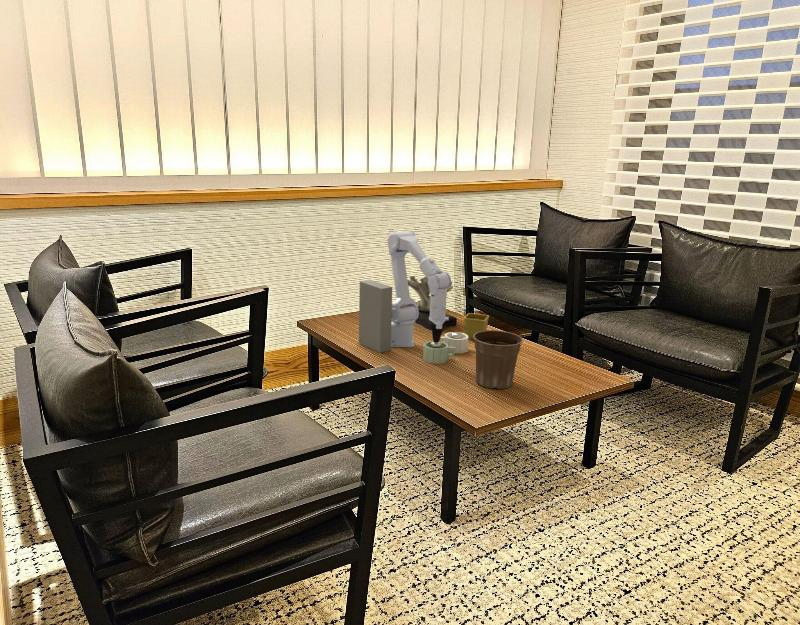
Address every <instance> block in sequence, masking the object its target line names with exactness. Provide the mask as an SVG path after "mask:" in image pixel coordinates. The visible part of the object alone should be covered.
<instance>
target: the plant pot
mask: <svg viewBox="0 0 800 625" xmlns="http://www.w3.org/2000/svg"><path fill="white" fill-rule="evenodd" d="M473 338H474V339H473V340H474V349H475V380H476V384H478V385H480V386H481V387H483V388H487V389H494V388H495V389H498V390H504V389H508V388H511V386H512V385H513V381H514V376H515V371H516V365H517V360H518V356H519V353H520V350H521V345H522V343H523V342H524V339H523V338H522V336H521V335H519V334H516V333H513V332H509V331H506V330H505V331H504V330H498V329H497V330H495V329H492V330H491V329H490V330H489V329H488V330H487V329H486V331H480V332H476V333H475V334H474V335H473Z"/></svg>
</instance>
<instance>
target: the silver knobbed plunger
mask: <svg viewBox="0 0 800 625" xmlns="http://www.w3.org/2000/svg"><path fill="white" fill-rule="evenodd" d="M452 332H453V331H452ZM461 333H462V332H458V331H454V332H453V333H452V338H453V339H461Z"/></svg>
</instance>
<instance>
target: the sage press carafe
mask: <svg viewBox="0 0 800 625" xmlns="http://www.w3.org/2000/svg"><path fill="white" fill-rule="evenodd" d="M432 341H433V340H430V341H429V340H428V341H425V342H424V343H423V344H422V345H423V346H422V347H423V348H422V360H423V361H424V362H426V363H430V364H438V365H439V364H444V363H446V362H448V361H449V360H448V359H449V358H454V357H455V356H456V355H455V354H456V353H455V347H449V346H448V344H447V343H445V342H444V341H441V348H432V347H431V342H432ZM439 342H440V341H439ZM448 350H452V353H449V352H448Z"/></svg>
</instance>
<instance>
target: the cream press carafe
mask: <svg viewBox="0 0 800 625" xmlns="http://www.w3.org/2000/svg"><path fill="white" fill-rule="evenodd" d="M452 333H453V331H451V332H447V333H445V334H444V336H441V337H440V342H442V341H443V342H445V343H447V344H448V346H449V347H455V354H465V353H466V352H468V350H469V339H470V338H469V337H468V335H466V333H464V332H460V333H461V339H453V338H452ZM448 353H449V354H451V353H452V350H448Z"/></svg>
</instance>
